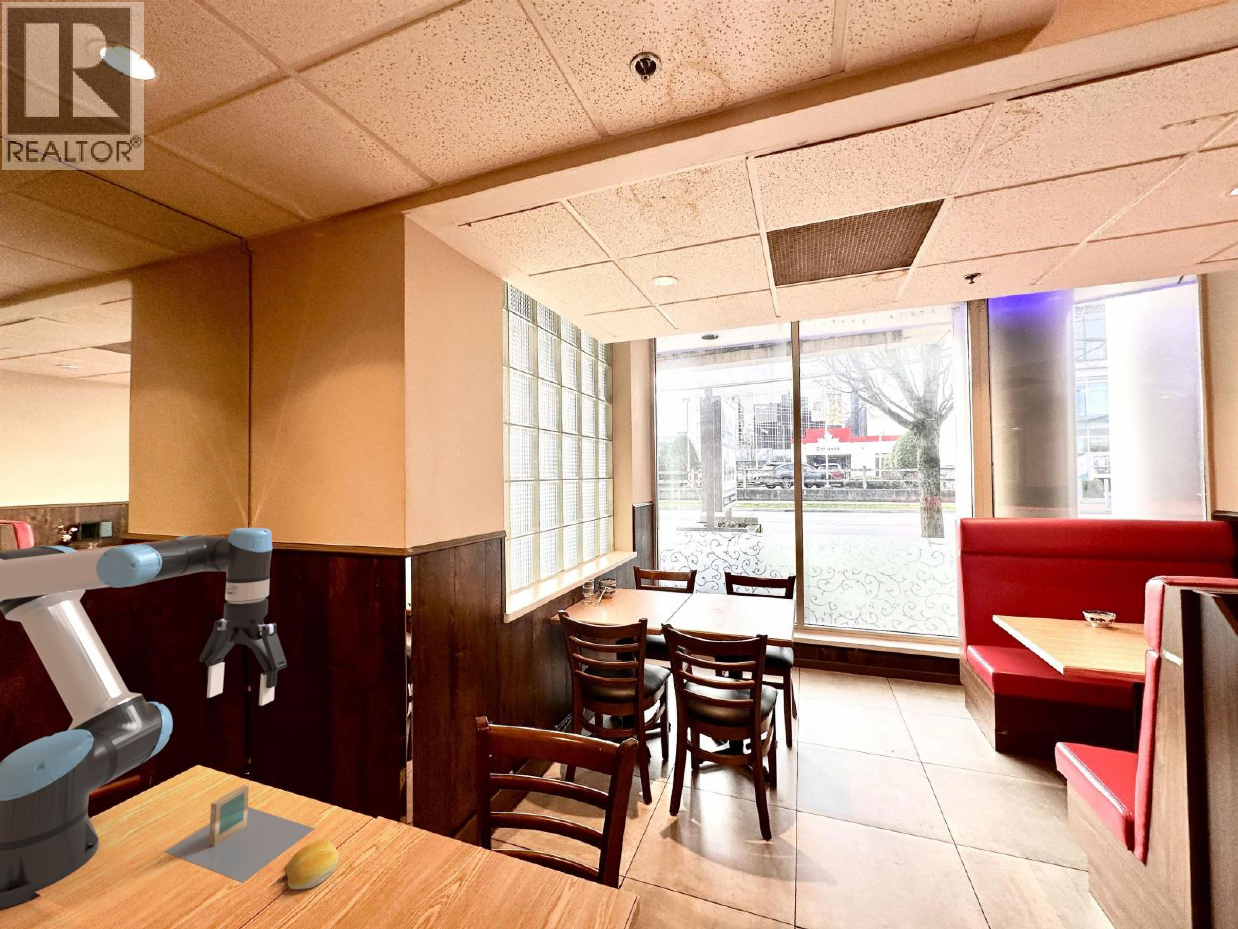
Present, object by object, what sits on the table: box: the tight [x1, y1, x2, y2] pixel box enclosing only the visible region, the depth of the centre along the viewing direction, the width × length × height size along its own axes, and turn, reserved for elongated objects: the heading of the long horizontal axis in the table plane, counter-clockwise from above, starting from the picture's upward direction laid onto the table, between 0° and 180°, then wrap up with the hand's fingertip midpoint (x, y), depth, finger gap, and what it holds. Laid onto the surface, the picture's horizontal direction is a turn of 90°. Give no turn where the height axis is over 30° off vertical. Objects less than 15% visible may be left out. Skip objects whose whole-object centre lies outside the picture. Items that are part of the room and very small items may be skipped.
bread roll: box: [285, 840, 340, 890], centre depth 88 cm, size 8×9×4 cm
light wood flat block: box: [209, 784, 250, 846], centre depth 95 cm, size 2×6×8 cm, turn 162°
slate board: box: [163, 806, 316, 883], centre depth 94 cm, size 22×14×1 cm, turn 72°
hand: (240, 698), depth 101 cm, fingers open, 13 cm apart
